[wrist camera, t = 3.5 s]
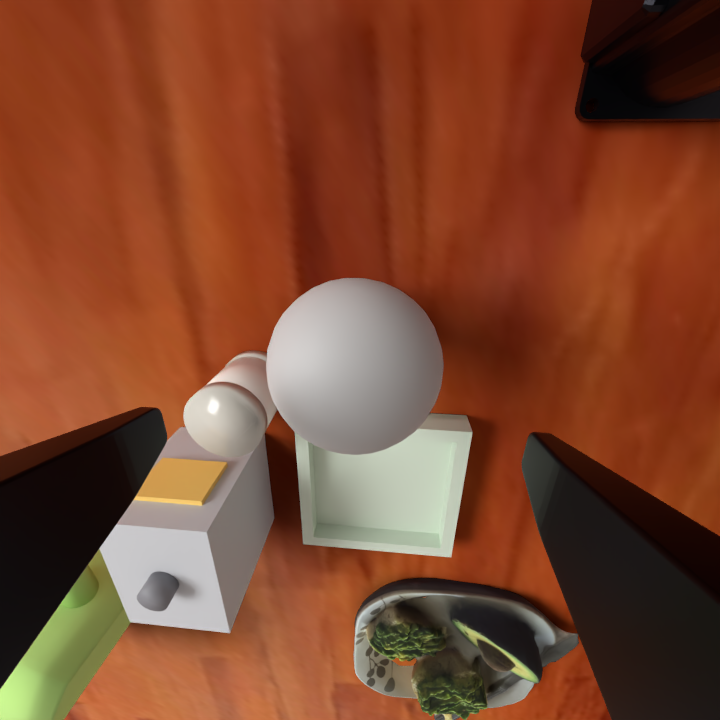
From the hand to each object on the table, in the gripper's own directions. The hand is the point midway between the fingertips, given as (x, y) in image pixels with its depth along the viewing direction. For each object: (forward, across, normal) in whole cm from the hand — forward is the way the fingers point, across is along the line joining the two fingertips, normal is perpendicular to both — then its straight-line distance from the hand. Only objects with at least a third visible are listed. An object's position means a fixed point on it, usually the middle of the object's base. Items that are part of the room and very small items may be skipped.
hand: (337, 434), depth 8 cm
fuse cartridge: (+12, +7, +5) cm, 15 cm away
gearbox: (+12, +24, +24) cm, 36 cm away
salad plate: (+13, -8, +30) cm, 34 cm away
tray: (+12, -1, +12) cm, 17 cm away
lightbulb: (+12, 0, 0) cm, 12 cm away
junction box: (+12, +10, +13) cm, 20 cm away
